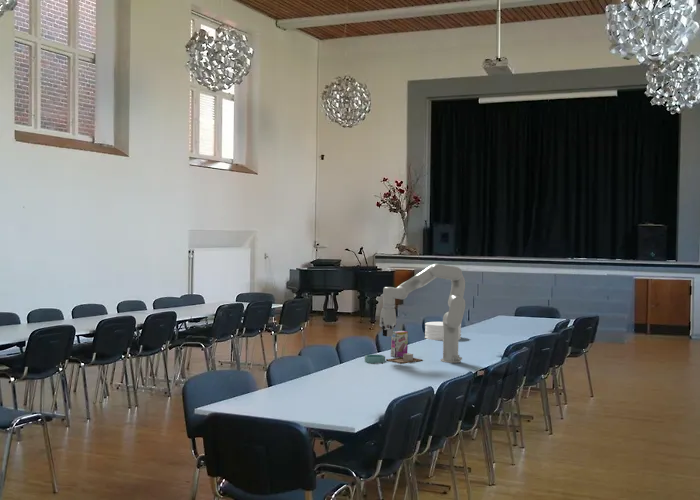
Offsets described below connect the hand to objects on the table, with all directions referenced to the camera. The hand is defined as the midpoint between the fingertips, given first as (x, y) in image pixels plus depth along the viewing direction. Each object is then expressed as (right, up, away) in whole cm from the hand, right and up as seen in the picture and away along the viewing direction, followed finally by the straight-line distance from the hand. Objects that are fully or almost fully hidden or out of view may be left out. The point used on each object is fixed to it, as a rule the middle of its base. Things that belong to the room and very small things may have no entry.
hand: (387, 335), depth 471 cm
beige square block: (+13, -16, -1) cm, 21 cm away
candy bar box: (+9, -16, +21) cm, 28 cm away
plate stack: (+49, -16, +116) cm, 127 cm away
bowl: (-8, -16, -1) cm, 18 cm away
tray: (+11, -16, +2) cm, 20 cm away
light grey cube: (0, 0, 0) cm, 0 cm away
